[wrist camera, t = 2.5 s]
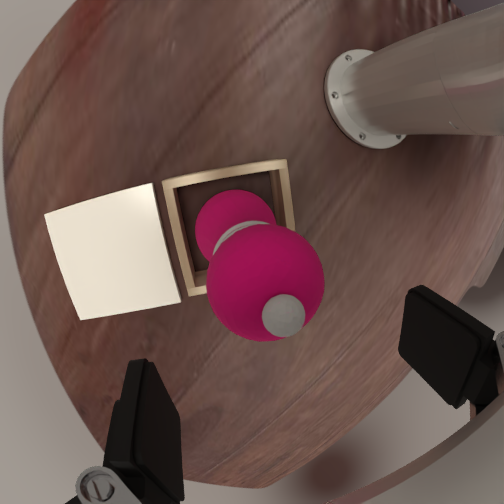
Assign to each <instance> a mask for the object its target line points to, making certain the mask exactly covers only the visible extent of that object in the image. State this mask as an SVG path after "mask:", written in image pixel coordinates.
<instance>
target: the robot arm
mask: <svg viewBox="0 0 504 504" xmlns="http://www.w3.org/2000/svg"><path fill="white" fill-rule="evenodd" d="M324 92H325V99H326V103H327V106H328V109H329V111H330V113H331V115H332V117H333V119H334V121H335V122H336V124H337V125H338V127H339V128H340V129H341V130H342V131H343V132H344V133H345V134H346V136H348V137H349V138H350V139H352V140H353V141H354V142H356V143H358V144H360V145H362V146H365V147H368V148H374V149H386V148H390V147H393V146H395V145H397V144H398V143H400V142H401V141H402V140H403V139H404V138H405V137H406V135H412V134H462V135H488V136H502V135H504V3H501V4H499V5H496V6H493V7H491V8H488V9H485V10H482V11H479V12H476V13H473V14H470V15H467V16H464V17H461V18H458V19H455V20H452V21H449V22H446V23H444V24H441V25H438V26H435V27H433V28H430V29H427V30H425V31H422V32H420V33H417V34H415V35H412V36H410V37H407V38H405V39H403V40H400V41H398V42H396V43H394V44H391V45H389V46H387V47H385V48H383V49H380V50H378V51H376V52H373V51H369V50H364V49H355V50H350V51H347V52H345V53H343V54H341V55H340V56H338V57H337V58H336V59H335V60H334V61H333V62H332V63H331V64H330V66H329V68H328V70H327V73H326V77H325V83H324ZM331 95H332V96H333V97H332V96H331ZM359 136H360V137H359ZM494 333H495V331H493V330H492V329H490V328H489V327H487V326H486V325H484V324H483V323H481V322H480V321H479V320H477V319H476V318H474V317H473V316H471V315H469V314H468V313H466V312H465V311H464V310H462V309H460V308H459V307H457V306H456V305H454V304H453V303H451V302H450V301H448V300H446V299H445V298H443V297H442V296H440V295H439V294H437V293H435V292H434V291H432V290H431V289H429V288H427V287H426V286H424V285H419V286H417V287H414V288H411V289H410V290H409V291H408V294H407V295H406V298H405V306H404V314H403V321H402V328H401V335H400V341H399V346H398V351H399V354H400V356H401V357H402V358H403V359H404V360H405V361H406V362H407V363H408V364H409V365H410V366H411V367H412V368H413V369H414V370H415V371H416V372H417V373H418V374H419V375H420V376H421V377H422V378H423V379H424V380H425V381H426V382H427V383H428V384H429V385H430V386H431V387H432V388H433V389H434V390H435V391H436V392H437V393H438V394H439V395H440V396H441V397H442V398H443V400H444V401H445V402H446V403H448V404H449V405H452V406H453V407H454V408H455V409H458V408H459V407H460V406H462V405H463V404H464V403H465V402H466V400H467V399H468V400H469V401H470V421H469V422H468V423H467V424H466V425H464V426H463V427H462V428H461V429H459V430H458V431H457V432H455V433H454V434H453V435H451V436H450V437H449V438H447V439H446V440H444V441H443V442H442V443H440V444H439V445H437V446H436V447H434V448H433V449H431V450H430V451H428V452H427V453H425V454H424V455H422V456H421V457H419V458H417V459H416V460H414V461H412V462H411V463H409V464H407V465H406V466H404V467H402V468H400V469H398V470H397V471H395V472H393V473H391V474H389V475H387V476H386V477H384V478H381V479H379V480H377V481H375V482H373V483H371V484H369V485H367V486H365V487H363V488H360V489H358V490H356V491H354V492H351V493H349V494H346V495H344V496H341V497H339V498H336V499H334V500H331V501H328V502H325V503H323V504H504V331H503V332H501V333H499V334H498V335H497V338H496V340H495V341H494V340H493V336H494ZM75 486H76V493H77V496H75V497H74V498H72V499H71V500H70V501H68V502H67V503H65V504H180V501H184V498H185V497H184V484H183V470H182V453H181V428H180V417H179V413H178V411H177V409H176V407H175V406H174V404H173V402H172V400H171V398H170V396H169V394H168V392H167V390H166V388H165V386H164V384H163V382H162V380H161V377H160V375H159V373H158V371H157V369H156V367H155V365H154V363H153V362H148V360H147V359H138V360H130V361H129V363H128V367H127V371H126V375H125V380H124V384H123V389H122V393H121V398H120V400H117V401H116V402H115V404H114V408H113V412H112V417H111V422H110V427H109V432H108V437H107V443H106V448H105V454H104V461H103V467H101V466H95V467H90V468H88V469H86V470H85V471H83V472H82V473H81V474H80V476H79V477H78V479H77V481H76V485H75Z"/></svg>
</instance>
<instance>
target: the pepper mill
mask: <svg viewBox="0 0 504 504" xmlns="http://www.w3.org/2000/svg"><path fill="white" fill-rule="evenodd" d="M195 235H196V240H197V244H198V247H199V249H200V251H201V253H202V254H203V256H204V257H205V258H206V259H207V260H208V261H209V262H210V263H209V267H208V270H207V279H206V290H207V296H208V299H209V302H210V305H211V307H212V309H213V312H214V313H215V315H216V316H217V318H218V319H219V320H220V322H222V323H223V324H224V325H225V326H226V327H227V328H228V329H229V330H230V331H232V332H233V333H235V334H236V335H239V336H241V337H244V338H246V339H249V340H254V341H259V342H260V341H275V340H279V339H283V338H286V337H288V336H292V335H294V334H295V333H297V332H298V331H299V330H300V329H301V328H302V327H304V326H305V325H306V324H307V323H308V322H309V321H310V320H311V318H312V317H313V316H314V314H315V313H316V311H317V309H318V307H319V305H320V303H321V300H322V297H323V293H324V274H323V269H322V264H321V262H320V260H319V258H318V255H317V253H316V252H315V250H314V249H313V247H312V246H311V245H310V244H309V243H308V242H307V241H306V240H305V238H303V237H302V236H301V235H299V234H298V233H296V232H295V231H292V230H290V229H288V228H286V227H283V226H279V225H277V224H276V220H275V217H274V214H273V212H272V211H271V209H270V208H269V206H268V205H267V204H266V203H265V202H264V200H262V199H261V198H260V197H259V196H257V195H255V194H254V193H251V192H248V191H244V190H228V191H224V192H221V193H219V194H217V195H215V196H213V197H212V198H211V199H209V200H208V201H207V202H206V203H205V204H204V206H203V207H202V208H201V210H200V212H199V214H198V217H197V219H196V224H195Z"/></svg>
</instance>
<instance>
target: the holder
mask: <svg viewBox="0 0 504 504" xmlns="http://www.w3.org/2000/svg"><path fill="white" fill-rule="evenodd" d="M262 171H269V176H270V183H271V190H272V197H273V204H274V211H275V219H276V224H277V225H279V226H283V227H286V228H288V229H290V230H292V231H295V223H294V214H293V206H292V198H291V190H290V182H289V175H288V167H287V160H286V159H274V160H266V161H260V162H253V163H246V164H240V165H234V166H228V167H223V168H217V169H212V170H206V171H201V172H196V173H191V174H186V175H182V176H177V177H172V178H168V179H165V180H163V181H162V184H163V189H164V194H165V199H166V204H167V209H168V213H169V218H170V223H171V227H172V231H173V236H174V240H175V244H176V248H177V252H178V257H179V261H180V265H181V268H182V272H183V276H184V280H185V284H186V287H187V291H188V295H189V296H194V295H199V294H204V293H207V290H206V279H207V270H208V269H207V270H202V271H197V272H195V270H194V265H193V261H192V257H191V253H190V248H189V244H188V239H187V235H186V230H185V226H184V221H183V216H182V212H181V207H180V202H179V197H178V192H177V187H180V186H185V185H190V184H195V183H200V182H205V181H210V180H215V179H220V178H226V177H232V176H237V175H243V174H249V173H256V172H262Z"/></svg>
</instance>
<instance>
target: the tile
mask: <svg viewBox="0 0 504 504" xmlns="http://www.w3.org/2000/svg"><path fill="white" fill-rule="evenodd" d="M45 219H46V223H47V227H48V231H49V234H50V238H51V241H52V245H53V248H54V251H55V254H56V258H57V261H58V264H59V267H60V270H61V272H62V275H63V278H64V281H65V283H66V286H67V289H68V291H69V294H70V296H71V299H72V301H73V304H74V306H75V309H76V311H77V313H78V316H79V318H80V320H84V319H91V318H97V317H103V316H109V315H115V314H120V313H126V312H132V311H137V310H143V309H148V308H154V307H159V306H164V305H169V304H175V303H180V302H181V295H180V292H179V288H178V285H177V281H176V277H175V274H174V270H173V266H172V262H171V259H170V255H169V251H168V247H167V243H166V239H165V234H164V230H163V226H162V221H161V217H160V213H159V208H158V203H157V199H156V194H155V189H154V184H153V183H149V184H145V185H141V186H137V187H133V188H129V189H125V190H121V191H118V192H114V193H110V194H107V195H103V196H100V197H96V198H93V199H90V200H86V201H83V202H80V203H77V204H73V205H70V206H67V207H64V208H61V209H58V210H55V211H52V212H49V213H47V214H45Z"/></svg>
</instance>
